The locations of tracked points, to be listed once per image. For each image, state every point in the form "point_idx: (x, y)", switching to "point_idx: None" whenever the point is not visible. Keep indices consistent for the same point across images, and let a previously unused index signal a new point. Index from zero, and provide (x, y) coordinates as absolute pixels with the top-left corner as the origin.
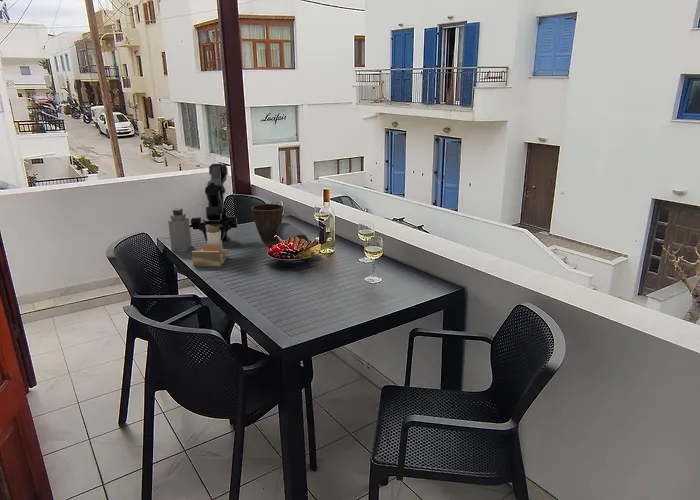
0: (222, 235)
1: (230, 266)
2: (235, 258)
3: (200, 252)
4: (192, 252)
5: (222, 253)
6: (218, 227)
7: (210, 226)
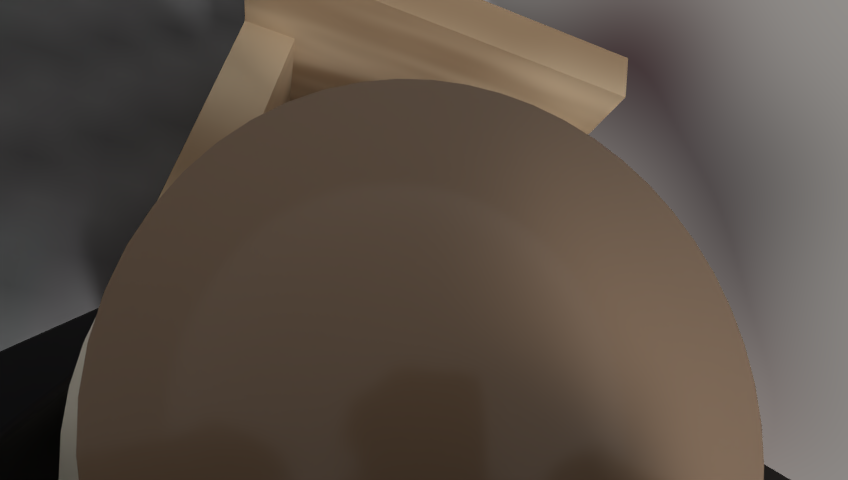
0: (81, 324)
1: (144, 19)
2: (13, 285)
3: (518, 21)
4: (616, 61)
5: (206, 147)
6: (148, 252)
7: (615, 361)
